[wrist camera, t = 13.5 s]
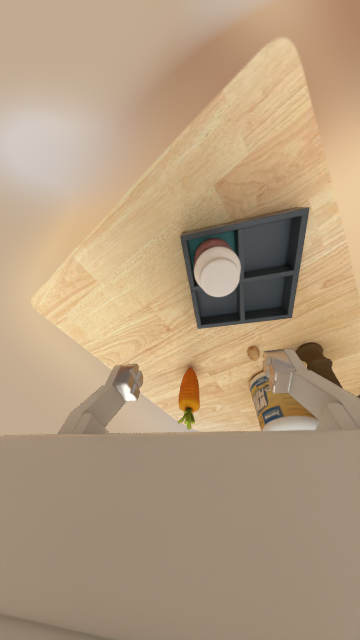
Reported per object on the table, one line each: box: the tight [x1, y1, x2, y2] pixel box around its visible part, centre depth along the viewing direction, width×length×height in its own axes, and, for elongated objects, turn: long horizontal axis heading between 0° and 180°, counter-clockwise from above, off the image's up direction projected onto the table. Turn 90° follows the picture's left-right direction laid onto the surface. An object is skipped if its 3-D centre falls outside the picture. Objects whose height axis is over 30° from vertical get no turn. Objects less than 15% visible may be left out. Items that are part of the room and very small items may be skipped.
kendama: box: [297, 344, 360, 398], centre depth 32 cm, size 6×10×20 cm, turn 102°
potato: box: [248, 346, 259, 361], centre depth 41 cm, size 3×4×2 cm, turn 16°
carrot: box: [178, 368, 200, 429], centre depth 41 cm, size 5×5×15 cm
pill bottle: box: [194, 238, 241, 297], centre depth 25 cm, size 6×6×11 cm
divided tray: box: [180, 207, 309, 329], centre depth 30 cm, size 17×17×4 cm
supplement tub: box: [250, 372, 319, 431], centre depth 40 cm, size 12×12×17 cm
